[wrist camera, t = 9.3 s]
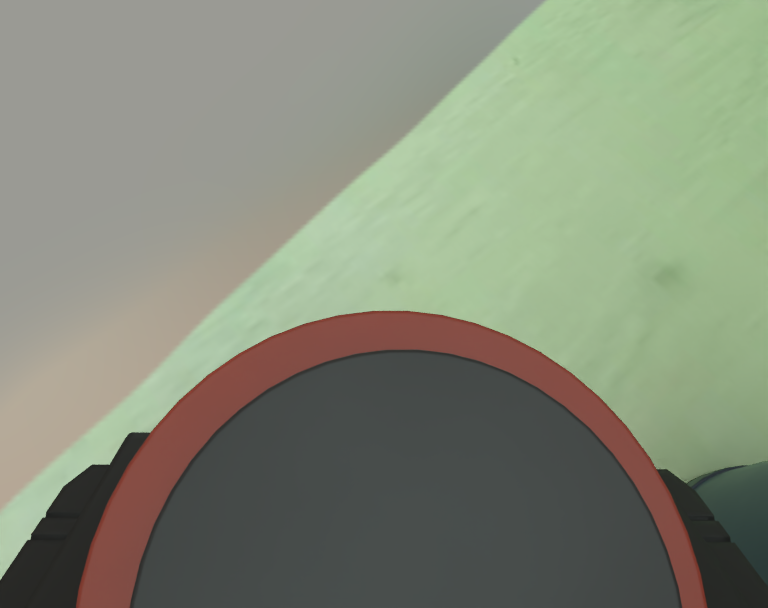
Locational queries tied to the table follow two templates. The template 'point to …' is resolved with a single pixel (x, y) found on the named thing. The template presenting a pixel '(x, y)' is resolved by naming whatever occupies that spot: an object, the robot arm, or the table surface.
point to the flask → (740, 508)
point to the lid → (391, 483)
